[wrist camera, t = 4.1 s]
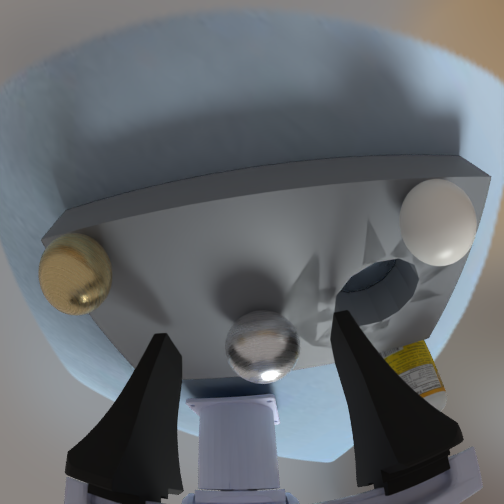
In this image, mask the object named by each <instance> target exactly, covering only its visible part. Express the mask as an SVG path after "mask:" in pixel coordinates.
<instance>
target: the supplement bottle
mask: <svg viewBox="0 0 504 504" xmlns="http://www.w3.org/2000/svg"><path fill="white" fill-rule="evenodd" d="M380 355H381V356H382V357H383V358H384V360H385V361H386V362H387V363H388V364H389V365H390V366H391V368H392V369H393V370H394V371H395V372H396V373H397V374H398V375H399V376H400V377H401V378H402V379H403V380H404V381H405V382H406V383H407V384H408V385H409V386H410V387H411V388H412V389H413V390H414V391H415V392H417V393H418V394H419V395H420V396H421V397H423V398H424V399H425V400H426V401H427V402H429V403H430V404H431V405H432V406H434V407H435V408H436V409H438V410H439V411H441V410H442V409H443V408H444V406H445V405H446V402H447V394H446V391H445V388H444V385H443V383H442V380H441V378H440V376H439V373H438V371H437V368H436V366H435V364H434V361H433V359H432V356H431V354H430V352H429V350H428V347H427V345H426V343H425V341H424V340H421V341H418V342H415V343H412V344H408V345H405V346H402V347H398V348H395V349H391V350H388V351H384V352H380Z"/></svg>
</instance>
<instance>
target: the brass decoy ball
mask: <svg viewBox="0 0 504 504" xmlns="http://www.w3.org/2000/svg"><path fill="white" fill-rule="evenodd" d="M39 282H40V286H41V289H42V292H43V294H44V296H45V297H46V299H47V300H48V301H49V303H50V304H51V305H52V306H53V307H55V308H56V309H57V310H59V311H61V312H63V313H65V314H69V315H84V314H88V313H90V312H92V311H94V310H95V309H97V308H98V307H99V306H100V305H101V304H102V303H103V302H104V301H105V299H106V298H107V296H108V294H109V291H110V288H111V285H112V266H111V262H110V259H109V257H108V254H107V253H106V251H105V250H104V248H103V247H102V246H101V245H100V244H99V243H98V242H97V241H96V240H95V239H93V238H91V237H89V236H87V235H84V234H80V233H69V234H65V235H62V236H60V237H58V238H56V239H55V240H54V241H52V242H51V243H50V244H49V245H48V247H47V248H46V249H45V251H44V253H43V255H42V257H41V260H40V264H39Z"/></svg>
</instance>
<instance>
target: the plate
mask: <svg viewBox="0 0 504 504" xmlns="http://www.w3.org/2000/svg"><path fill="white" fill-rule="evenodd" d="M430 179H442V180H447V181H449V182H452V183H454V184H456V185H457V186H458V187H460V188H461V189H462V190H463V191H464V192H465V193H466V194H467V196H468V197H469V199H470V200H471V202H472V204H473V207H474V210H475V213H476V219H477V229H478V226H479V223H480V220H481V216H482V213H483V209H484V206H485V202H486V198H487V194H488V190H489V185H490V181H491V176H489V175H488V174H487V173H485V172H484V171H482V170H481V169H479V168H478V167H476V166H475V165H473V164H472V163H470V162H469V161H467V160H466V159H464V158H462V157H461V156H450V155H381V156H359V157H343V158H330V159H318V160H308V161H298V162H289V163H281V164H273V165H266V166H258V167H252V168H245V169H239V170H232V171H226V172H221V173H215V174H209V175H204V176H199V177H194V178H189V179H184V180H179V181H174V182H170V183H165V184H161V185H156V186H152V187H148V188H144V189H140V190H136V191H132V192H128V193H124V194H120V195H116V196H113V197H109V198H106V199H102V200H99V201H95V202H92V203H88V204H85V205H82V206H79V207H75V208H72V209H69V210H66V211H65V212H64V213H63V214H62V215H61V216H60V218H59V219H58V220H57V221H56V222H55V223H54V224H53V226H52V227H51V228H50V229H49V230H48V232H47V233H46V234H45V235H44V236H43V238H42V239H41V241H42V243H43V245H44V246H45V248H47V247H48V245H49V244H50V243H51V242H52V241H54V240H55V239H56V238H58V237H60V236H62V235H65V234H69V233H80V234H84V235H87V236H89V237H91V238H93V239H95V240H96V241H97V242H98V243H99V244H100V245H101V246H102V247H103V248H104V250H105V251H106V253H107V254H108V257H109V259H110V262H111V266H112V285H111V288H110V291H109V294H108V296H107V298H106V299H105V301H104V302H103V303H102V304H101V305H100V306H99V307H98V308H97V309H95V310H94V311H92V312H90V313H89V315H90V316H91V317H92V319H93V320H94V321H95V323H96V324H97V325H98V326H99V328H100V329H101V330H102V331H103V333H104V334H105V335H106V336H107V337H108V339H109V340H110V341H111V342H112V343H113V345H114V346H115V347H116V348H117V349H118V350H119V352H120V353H121V354H122V355H123V356H124V357H125V358H126V359H127V360H128V362H129V363H130V364H131V365H132V366H133V367H134V368H136V367H137V365H138V363H139V361H140V359H141V357H142V356H143V354H144V352H145V350H146V348H147V346H148V344H149V342H150V341H151V339H152V337H153V335H154V334H156V333H167V334H168V336H169V337H170V339H171V340H172V342H173V343H174V345H175V346H176V348H177V349H178V351H179V352H180V354H181V355H182V379H211V378H227V377H240V376H239V375H238V374H236V373H235V372H234V370H233V369H232V368H231V366H230V365H229V363H228V361H227V358H226V353H225V341H226V337H227V334H228V332H229V330H230V328H231V327H232V325H233V324H234V323H235V322H236V321H237V320H238V319H239V318H241V317H242V316H244V315H246V314H248V313H250V312H253V311H260V310H266V311H272V312H276V313H278V314H280V315H282V316H284V317H285V318H287V319H288V320H289V321H290V322H291V323H292V324H293V326H294V327H295V329H296V330H297V333H298V335H299V339H300V355H299V359H298V361H297V363H296V365H295V367H294V368H293V369H292V370H298V369H305V368H311V367H316V366H322V365H327V364H332V363H335V361H334V357H333V352H332V346H331V341H330V336H331V329H332V321H333V313H334V312H339V311H344V310H348V311H350V313H351V315H352V316H353V318H354V319H355V321H356V322H357V324H358V325H359V327H360V328H361V330H362V331H363V332H364V334H365V335H366V337H367V338H368V339H369V341H370V342H371V343H372V345H373V346H374V347H375V348H376V350H377V351H378V352H379V353H380V352H384V351H388V350H391V349H395V348H398V347H402V346H405V345H408V344H412V343H415V342H418V341H421V340H424V339H427V338H429V337H430V335H431V333H432V331H433V330H434V328H435V326H436V324H437V322H438V321H439V319H440V317H441V315H442V313H443V311H444V309H445V307H446V305H447V303H448V301H449V299H450V297H451V295H452V293H453V291H454V288H455V286H456V284H457V282H458V279H459V277H460V275H461V272H462V270H463V268H464V265H465V263H466V260H467V258H468V255H469V252H470V250H471V248H470V249H469V251H468V252H467V253H466V254H465V255H464V256H463V257H462V258H461V259H460V260H458V261H457V262H455V263H453V264H450V265H446V266H433V265H429V264H426V263H424V262H422V261H420V260H419V259H417V258H416V257H415V256H414V255H413V254H412V253H411V252H410V251H409V249H408V248H407V246H406V245H405V243H404V241H403V238H402V235H401V231H400V225H399V217H400V210H401V206H402V204H403V201H404V199H405V198H406V196H407V194H408V193H409V192H410V191H411V190H412V189H413V188H414V187H415V186H416V185H418V184H419V183H421V182H423V181H426V180H430ZM477 229H476V232H477ZM471 247H472V246H471ZM392 259H396V263H395V266H394V267H393V268H392V269H391V271H390V272H389V273H388V274H387V276H386V277H385V278H384V279H383V280H382V281H380V282H378V283H377V284H375V285H373V286H372V287H370V288H368V289H367V290H362V291H357V292H351V293H346V292H342V291H340V290H341V289H342V288H343V287H344V285H345V284H346V283H347V282H348V280H349V279H350V278H351V277H352V276H354V275H355V274H357V273H359V272H360V271H362V270H364V269H365V268H367V267H368V266H370V265H372V264H373V263H375V262H381V261H386V260H392Z"/></svg>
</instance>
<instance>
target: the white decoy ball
mask: <svg viewBox="0 0 504 504" xmlns="http://www.w3.org/2000/svg"><path fill="white" fill-rule="evenodd" d="M399 225H400V231H401V235H402V238H403V241H404V243H405V245H406V246H407V248H408V249H409V251H410V252H411V253H412V254H413V255H414V256H415V257H416V258H417V259H419V260H420V261H422V262H424V263H426V264H429V265H433V266H446V265H450V264H453V263H455V262H457V261H458V260H460V259H461V258H462V257H463V256H464V255H465V254H466V253H467V252H468V251H469V249H470V248H471V246H472V244H473V241H474V239H475V235H476V229H477V219H476V213H475V210H474V207H473V204H472V202H471V200H470V199H469V197H468V196H467V194H466V193H465V192H464V191H463V190H462V189H461V188H460V187H458V186H457V185H456V184H454V183H452V182H449V181H447V180H442V179H430V180H426V181H423V182H421V183H419V184H418V185H416V186H415V187H414V188H413V189H412V190H411V191H410V192H409V193H408V194H407V196H406V198H405V199H404V201H403V204H402V206H401V210H400V217H399Z"/></svg>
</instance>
